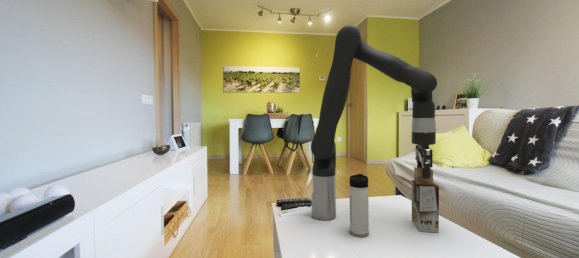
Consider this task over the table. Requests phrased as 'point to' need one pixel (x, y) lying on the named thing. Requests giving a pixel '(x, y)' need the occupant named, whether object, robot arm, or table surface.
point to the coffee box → (425, 207)
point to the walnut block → (420, 179)
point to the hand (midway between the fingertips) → (423, 175)
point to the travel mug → (359, 205)
